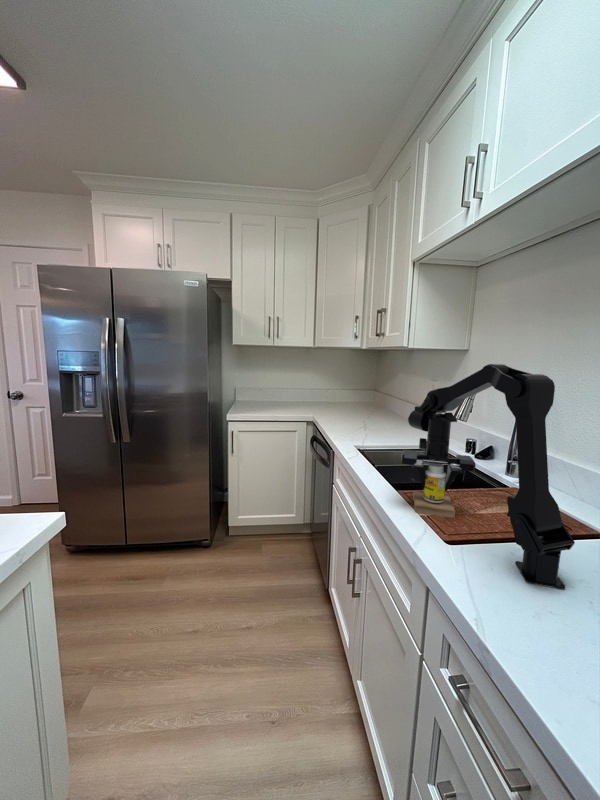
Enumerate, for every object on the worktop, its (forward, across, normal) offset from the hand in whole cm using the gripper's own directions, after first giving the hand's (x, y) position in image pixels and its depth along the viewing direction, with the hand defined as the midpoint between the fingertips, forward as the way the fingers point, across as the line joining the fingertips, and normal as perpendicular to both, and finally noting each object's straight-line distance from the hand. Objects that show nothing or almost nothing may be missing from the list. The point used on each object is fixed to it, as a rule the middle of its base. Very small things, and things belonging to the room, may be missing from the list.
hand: (434, 489), depth 94 cm
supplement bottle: (+3, 0, 0) cm, 3 cm away
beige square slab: (+5, 0, 0) cm, 5 cm away
